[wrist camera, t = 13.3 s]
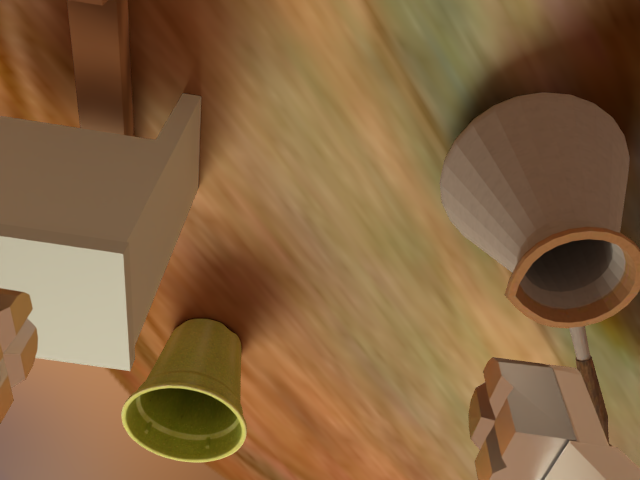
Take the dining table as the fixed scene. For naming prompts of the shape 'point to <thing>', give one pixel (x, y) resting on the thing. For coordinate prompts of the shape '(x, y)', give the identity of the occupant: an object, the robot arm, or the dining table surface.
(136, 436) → the plant pot
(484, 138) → the coffee pot
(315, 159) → the dining table surface
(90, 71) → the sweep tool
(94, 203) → the grey cube on pedestal
